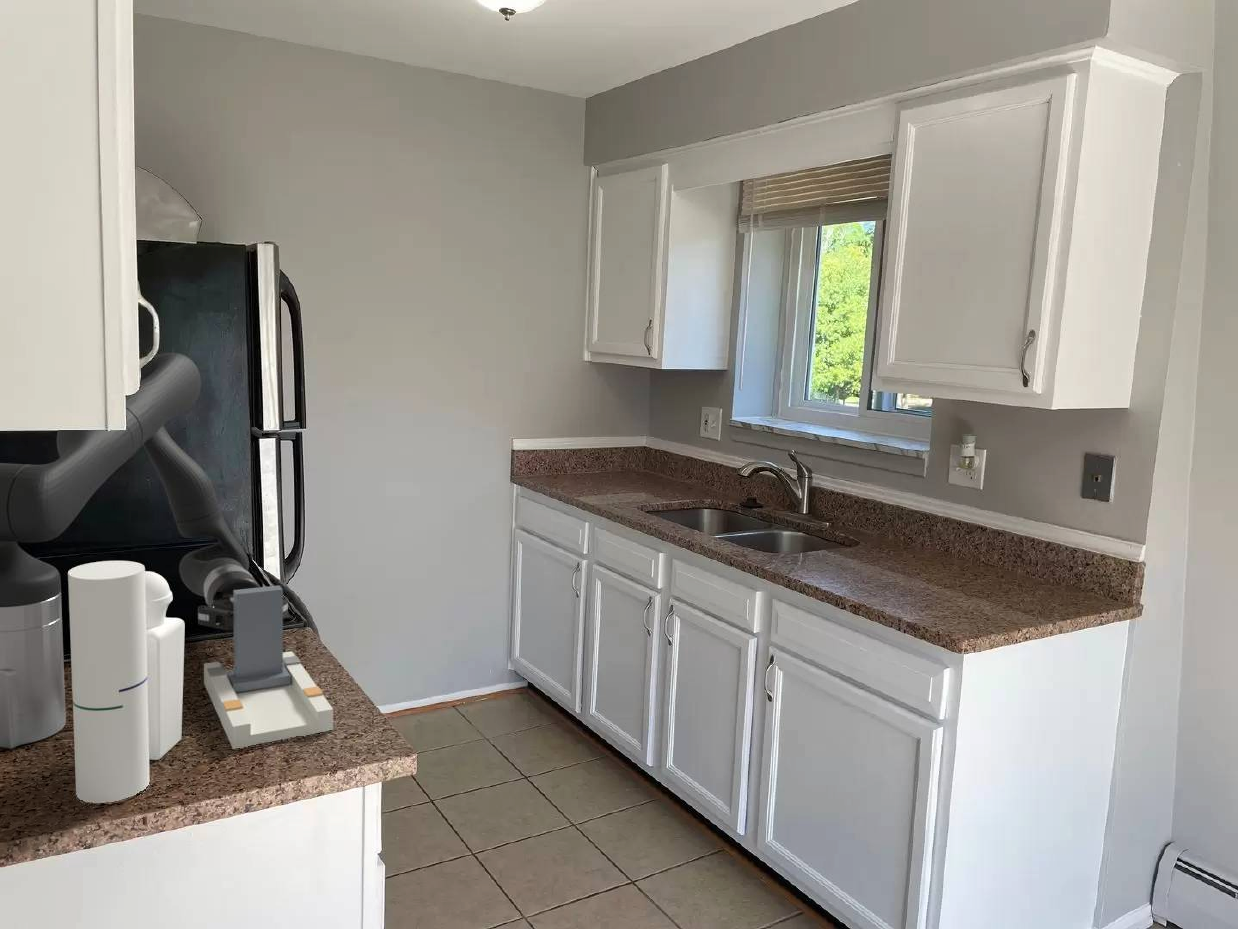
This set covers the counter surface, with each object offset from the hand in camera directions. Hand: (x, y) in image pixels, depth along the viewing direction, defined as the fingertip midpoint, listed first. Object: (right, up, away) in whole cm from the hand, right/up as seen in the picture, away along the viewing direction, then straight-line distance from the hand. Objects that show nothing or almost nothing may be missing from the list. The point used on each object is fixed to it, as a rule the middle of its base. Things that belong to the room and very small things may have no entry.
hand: (256, 629), depth 128 cm
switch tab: (0, -7, 0) cm, 7 cm away
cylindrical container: (-6, -13, -26) cm, 29 cm away
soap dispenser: (-7, -12, -16) cm, 21 cm away
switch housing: (+2, -10, -3) cm, 11 cm away
